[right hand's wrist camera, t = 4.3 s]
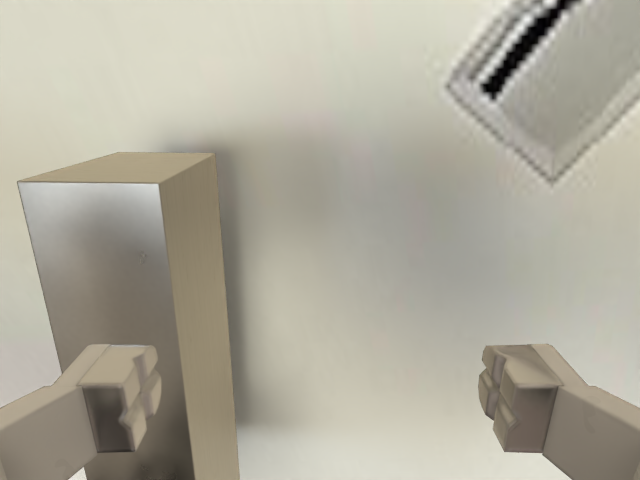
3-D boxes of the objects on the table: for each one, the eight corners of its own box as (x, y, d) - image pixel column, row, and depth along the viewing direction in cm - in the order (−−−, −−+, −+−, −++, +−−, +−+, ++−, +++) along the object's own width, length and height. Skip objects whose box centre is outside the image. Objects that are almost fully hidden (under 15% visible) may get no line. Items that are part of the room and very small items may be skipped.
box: (117, 152, 27) (16, 181, 18) (215, 153, 27) (159, 182, 18) (167, 483, 36) (116, 606, 28) (240, 485, 36) (211, 609, 27)
